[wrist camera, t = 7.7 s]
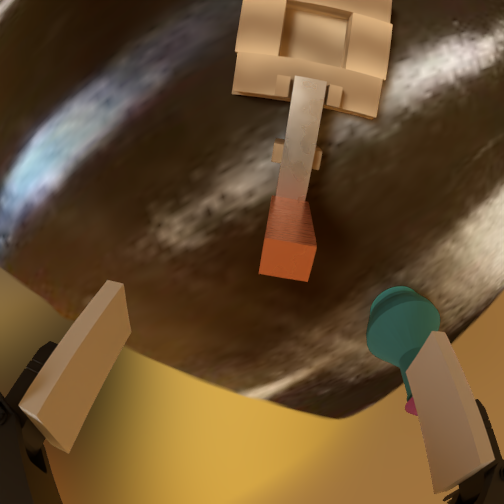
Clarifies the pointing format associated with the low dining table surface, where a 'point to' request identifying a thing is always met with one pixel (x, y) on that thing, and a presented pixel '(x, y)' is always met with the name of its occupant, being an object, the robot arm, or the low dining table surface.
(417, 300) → the perfume bottle
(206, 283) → the low dining table surface
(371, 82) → the dock
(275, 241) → the pin
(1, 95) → the low dining table surface
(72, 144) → the low dining table surface
